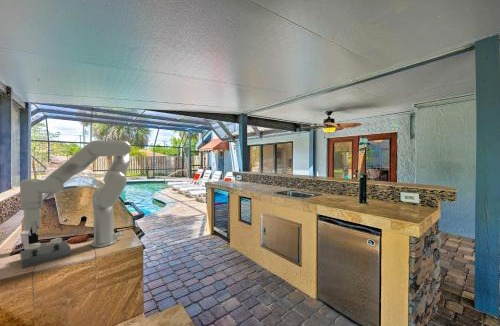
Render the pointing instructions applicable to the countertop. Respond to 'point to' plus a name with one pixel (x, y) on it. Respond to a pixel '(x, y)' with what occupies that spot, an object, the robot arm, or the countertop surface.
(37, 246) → the knob
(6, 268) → the countertop surface
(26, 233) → the smoothie
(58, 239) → the knob
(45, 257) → the housing
